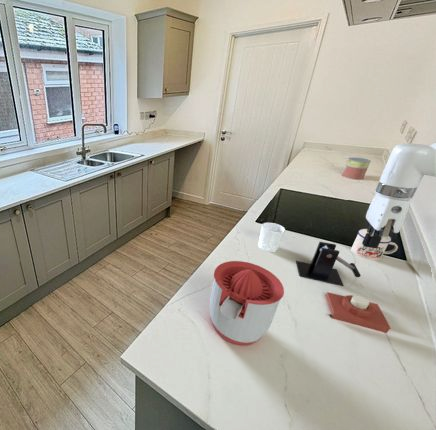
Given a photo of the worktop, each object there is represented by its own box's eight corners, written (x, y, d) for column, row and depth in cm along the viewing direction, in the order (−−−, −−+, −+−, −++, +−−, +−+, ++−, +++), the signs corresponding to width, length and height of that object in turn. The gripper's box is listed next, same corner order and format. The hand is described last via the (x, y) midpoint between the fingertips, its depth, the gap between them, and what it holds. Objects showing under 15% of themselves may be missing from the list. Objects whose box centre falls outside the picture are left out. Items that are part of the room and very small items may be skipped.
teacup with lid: (352, 258, 99) (365, 231, 93) (346, 246, 106) (358, 220, 100) (394, 267, 93) (411, 239, 88) (386, 253, 101) (400, 227, 95)
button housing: (374, 309, 77) (380, 299, 75) (386, 333, 69) (393, 322, 68) (324, 297, 81) (329, 287, 79) (331, 318, 74) (336, 308, 72)
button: (364, 302, 74) (366, 297, 74) (368, 311, 72) (371, 306, 71) (348, 298, 76) (350, 294, 75) (352, 307, 73) (354, 302, 72)
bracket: (335, 272, 92) (348, 243, 86) (342, 288, 85) (356, 258, 79) (295, 263, 96) (305, 236, 91) (298, 278, 89) (309, 249, 84)
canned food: (344, 173, 187) (351, 156, 182) (365, 176, 180) (372, 159, 174) (340, 176, 181) (346, 159, 176) (361, 180, 173) (368, 162, 168)
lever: (350, 268, 88) (357, 263, 86) (356, 278, 83) (363, 274, 82) (318, 246, 89) (324, 241, 88) (322, 255, 84) (328, 251, 83)
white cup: (266, 256, 101) (273, 233, 96) (251, 245, 108) (257, 224, 103) (283, 252, 103) (290, 230, 98) (267, 242, 109) (273, 221, 105)
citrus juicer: (190, 331, 71) (200, 273, 62) (220, 298, 82) (232, 244, 73) (250, 371, 61) (272, 309, 52) (275, 327, 72) (296, 269, 63)
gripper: (428, 202, 65) (396, 262, 73) (400, 183, 77) (375, 236, 85) (388, 198, 68) (361, 256, 76) (367, 180, 80) (346, 232, 88)
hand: (369, 246), depth 80 cm, fingers closed
